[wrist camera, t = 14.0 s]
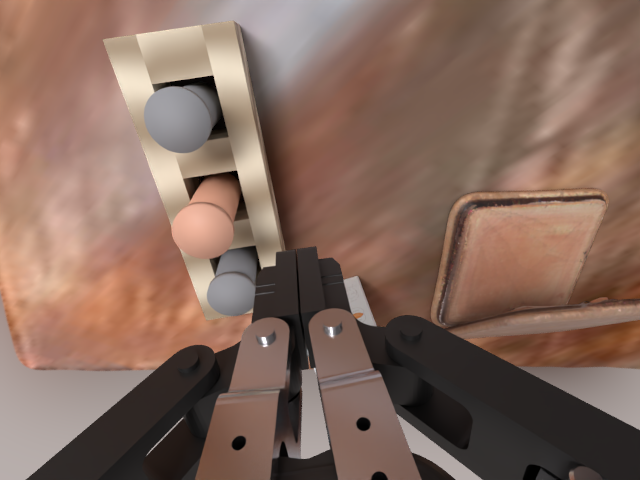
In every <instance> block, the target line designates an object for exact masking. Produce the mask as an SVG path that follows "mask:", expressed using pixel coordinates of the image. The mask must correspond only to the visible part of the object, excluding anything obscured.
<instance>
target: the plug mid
mask: <svg viewBox="0 0 640 480" xmlns="http://www.w3.org/2000/svg"><path fill="white" fill-rule="evenodd" d="M240 196H241V186H240V184H239V182H238V180H237V179H236V178H235V177H234V176H233V175H231V174H230V173H227V172H222V173H216V174H209V175H207V176H206V177H205V178H204V179H203V181H202V182H201V184H200V186H199V187H198V189H197V191H196V192H195V194H194V196H193V197H192V199H191V201H190V202H189V204H188V205H187V206H185V207H184V208H182V209H181V210H180V211H179V213H178V214H177V216H176V217H175V219H174V221H173V224H172V236H173V239H174V241H175V243H176V244H177V246H178V247H179V248H180V249H181V250H182V251H184V252H185V253H186V254H188V255H190V256H193V257H195V258H200V259H211V258H215V257H218V256H220V255H222V254H224V253H225V252H226V251H227V250H228V249H229V247H230V246H231V244H232V241H233V237H234V224H233V222H234V219H235V215H236V211H237V208H238V204H239V200H240Z"/></svg>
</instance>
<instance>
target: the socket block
mask: <svg viewBox="0 0 640 480" xmlns="http://www.w3.org/2000/svg"><path fill="white" fill-rule="evenodd" d="M103 42H104V45H105V47H106V50H107V53H108V55H109V58H110V61H111V64H112V66H113V69H114V72H115V74H116V77H117V80H118V83H119V85H120V88H121V91H122V93H123V96H124V99H125V102H126V104H127V107H128V110H129V112H130V115H131V118H132V121H133V123H134V126H135V129H136V131H137V134H138V137H139V139H140V142H141V145H142V148H143V150H144V153H145V156H146V158H147V161H148V164H149V167H150V169H151V172H152V175H153V177H154V180H155V183H156V186H157V188H158V191H159V194H160V196H161V199H162V202H163V205H164V207H165V210H166V213H167V215H168V218H169V221H170V223H171V226H172V224H173V221H174V219H175V217H176V216H177V214H178V213H179V211H180V210H181V209H182V208H184V207H185V206H187V205H188V204H189V202H190V201H191V199H192V197H193V196H194V194H195V192H196V191H197V189H198V187H199V186H200V180H199V177H198V176H203V175H209V174H216V173H222V172H229V171H235V170H237V172H238V176H239V180H240V184H241V188H242V192H243V196H244V200H245V202H239V204H238V208H237V211H236V215H235V219H234V222H233V224H234V237H233V241H232V244H231V246H230V247H229V249H236V248H242V247H248V246H254V245H256V249H257V253H258V257H259V261H260V262H258V263H257V270H256V280H257V276H258V274H259V273H260V272H261V270H262V269H263V267H269V266H275V264H276V252H280V251H286V250H285V245H284V240H283V235H282V230H281V225H280V220H279V215H278V210H277V205H276V200H275V195H274V191H273V186H272V181H271V176H270V171H269V166H268V161H267V156H266V151H265V146H264V141H263V136H262V131H261V127H260V122H259V117H258V112H257V107H256V102H255V97H254V92H253V87H252V82H251V77H250V72H249V67H248V63H247V58H246V53H245V48H244V43H243V38H242V33H241V28H240V25H239V24H238V23H236V22H235V21H227V22H220V23H213V24H206V25H199V26H192V27H185V28H178V29H171V30H164V31H157V32H150V33H143V34H136V35H129V36H123V37H116V38H109V39H103ZM212 75H214V79H215V83H216V88H217V92H218V96H219V100H220V104H221V108H222V112H223V116H224V120H225V124H226V128H224V129H218V130H211V134H210V136H209V138H208V139H207V141H206V142H205V143H204V144H203V145H202V146H201V147H200V148H199V149H197V150H195V151H193V152H190V153H175V152H172V151H169V150H167V149H165V148H163V147H162V146H160V145H159V144H158V143H157V142H155V140H154V139H153V138H152V137H151V135H150V134H149V132H148V130H147V128H146V125H145V121H144V109H145V105H146V103H147V101H148V99H149V98H150V96H151V95H152V94H153V93H155V92H156V91H158V90H160V89H163V88H166V87H170V86H171V85H170V82H171V81H178V80H184V79H191V78H198V77H205V76H212ZM229 249H228V250H229ZM180 251H181V253H182V256H183V259H184V261H185V264H186V267H187V270H188V272H189V275H190V278H191V280H192V283H193V286H194V289H195V291H196V294H197V297H198V299H199V302H200V305H201V308H202V310H203V313H204V316H205V318H206V320H212V319H218V318H224V317H230V316H227V315H223V314H220V313H218V312H217V311H215V310H214V309H213V308H212V307H211V306H210V305H209V303H208V300H207V291H208V287H209V284H210V282H211V281H212V280H213V278H215V275H216V271H217V268H218V264H219V261H220V257H221V255H220V256H218V257H215V258H211V259H200V258H195V257H193V256H190V255H188V254H186V253H185V252H184V251H182V250H181V249H180ZM256 280H255V285H256ZM247 313H253V308H252V309H251V310H250V311H248V312H247ZM247 313H245V314H247Z"/></svg>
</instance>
